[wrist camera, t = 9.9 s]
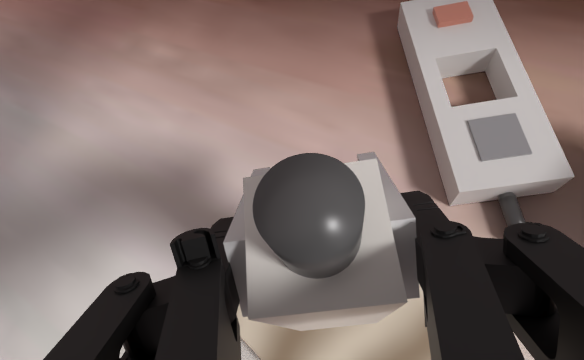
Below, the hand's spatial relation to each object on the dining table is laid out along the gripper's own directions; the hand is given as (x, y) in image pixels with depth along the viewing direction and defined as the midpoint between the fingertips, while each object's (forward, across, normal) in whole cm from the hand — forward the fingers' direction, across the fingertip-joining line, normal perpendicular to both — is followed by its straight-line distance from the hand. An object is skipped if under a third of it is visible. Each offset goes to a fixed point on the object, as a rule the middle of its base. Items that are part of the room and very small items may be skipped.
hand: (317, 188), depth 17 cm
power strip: (+17, +14, -2) cm, 22 cm away
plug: (+1, 0, -6) cm, 6 cm away
